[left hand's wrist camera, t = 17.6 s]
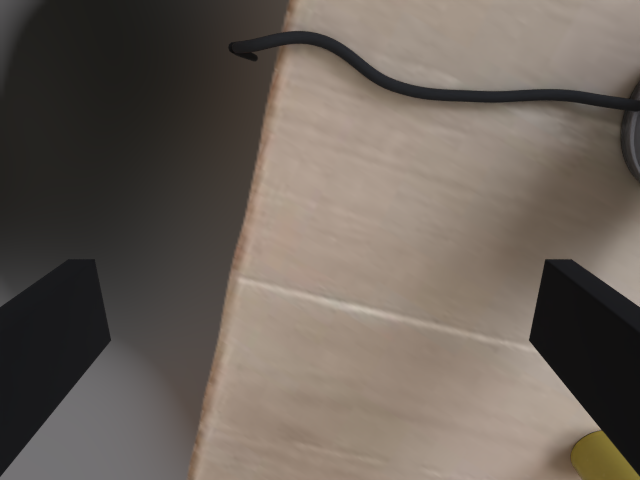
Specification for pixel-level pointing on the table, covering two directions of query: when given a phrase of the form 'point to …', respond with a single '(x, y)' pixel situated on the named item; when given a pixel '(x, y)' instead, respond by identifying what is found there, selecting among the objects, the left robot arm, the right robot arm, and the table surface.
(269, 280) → the table surface
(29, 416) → the left robot arm
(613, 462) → the canister
